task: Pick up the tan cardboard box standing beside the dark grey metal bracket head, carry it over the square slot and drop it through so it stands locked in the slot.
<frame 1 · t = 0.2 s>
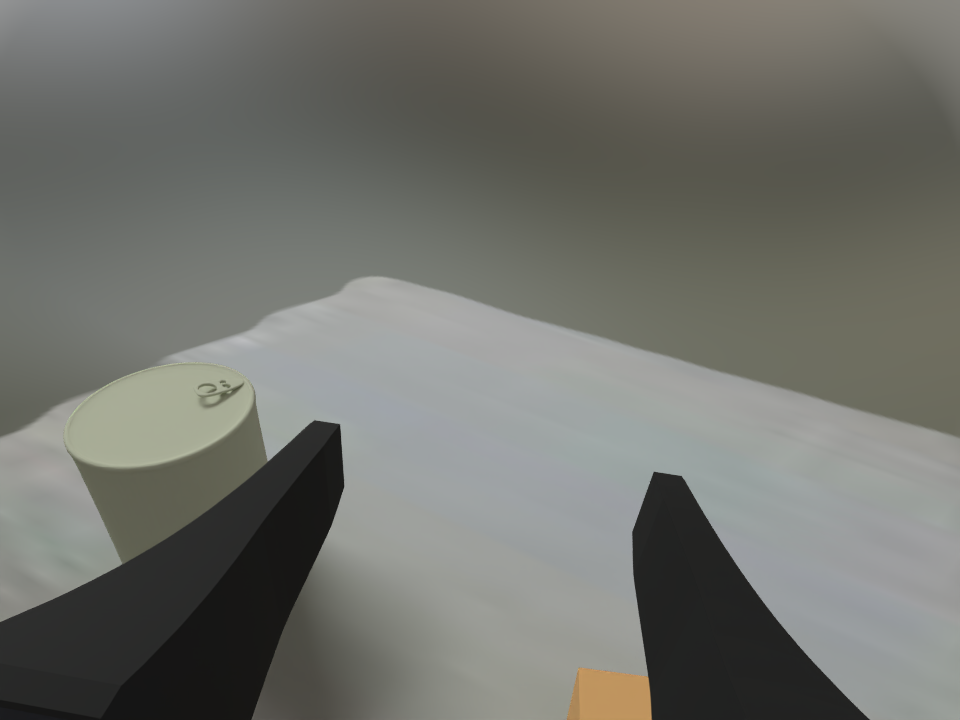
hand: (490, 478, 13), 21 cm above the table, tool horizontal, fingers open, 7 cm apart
can: (211, 554, 37), on the table
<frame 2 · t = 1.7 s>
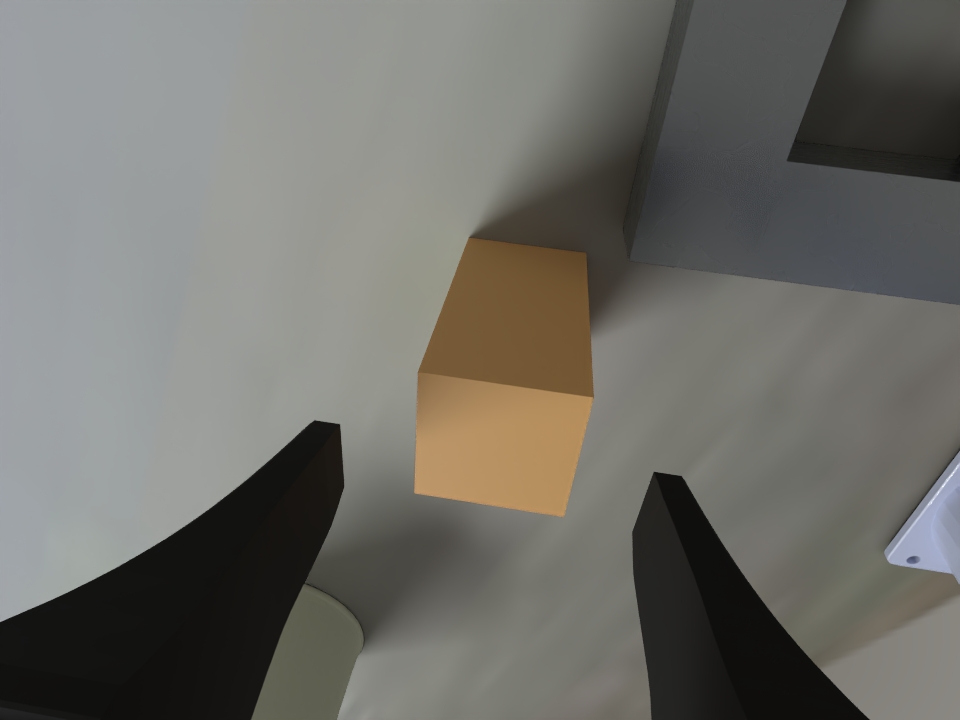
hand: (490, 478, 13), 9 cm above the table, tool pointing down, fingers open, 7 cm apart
bracket head: (905, 40, 15), on the table
tan cardboard box: (519, 297, 21), on the table
can: (291, 620, 35), on the table
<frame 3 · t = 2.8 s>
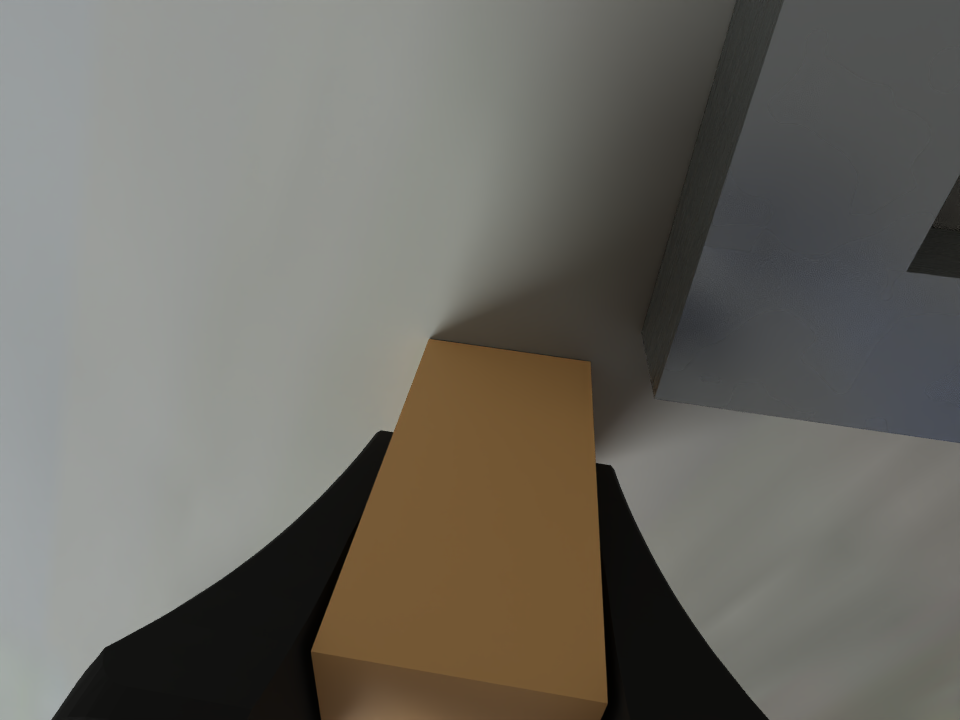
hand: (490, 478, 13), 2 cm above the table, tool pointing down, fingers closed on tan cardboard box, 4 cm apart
tan cardboard box: (500, 412, 15), on the table, touching gripper
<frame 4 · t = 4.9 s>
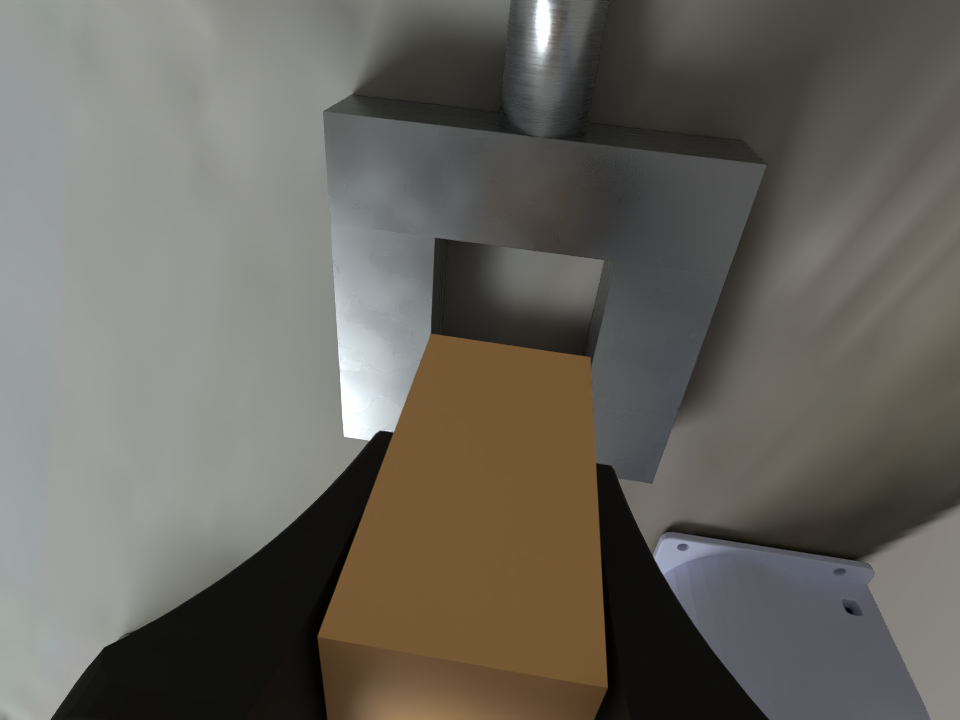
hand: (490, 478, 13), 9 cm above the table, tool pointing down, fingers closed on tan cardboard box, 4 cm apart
bracket head: (519, 292, 21), on the table
tan cardboard box: (500, 407, 16), point 7 cm above the table, touching gripper
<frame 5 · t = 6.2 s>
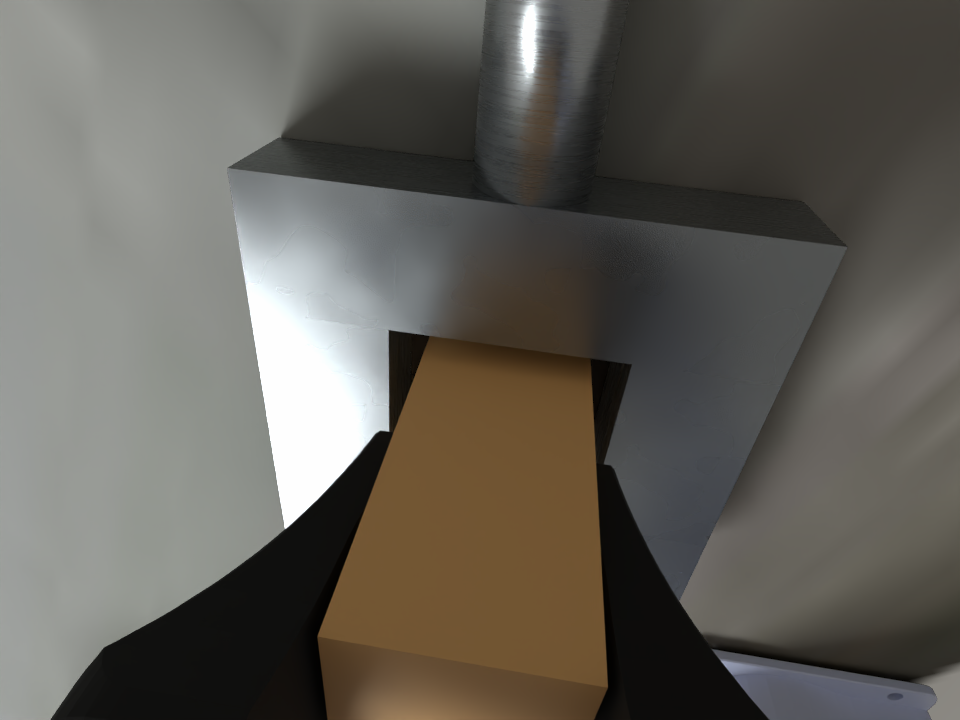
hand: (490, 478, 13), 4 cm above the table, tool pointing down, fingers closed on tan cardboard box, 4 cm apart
bracket head: (505, 379, 17), on the table
tan cardboard box: (500, 407, 16), point 1 cm above the table, touching gripper
when the fingers open (4 cm above the table, at t = 7.2 s): tan cardboard box drops 1 cm, resting in bracket head.
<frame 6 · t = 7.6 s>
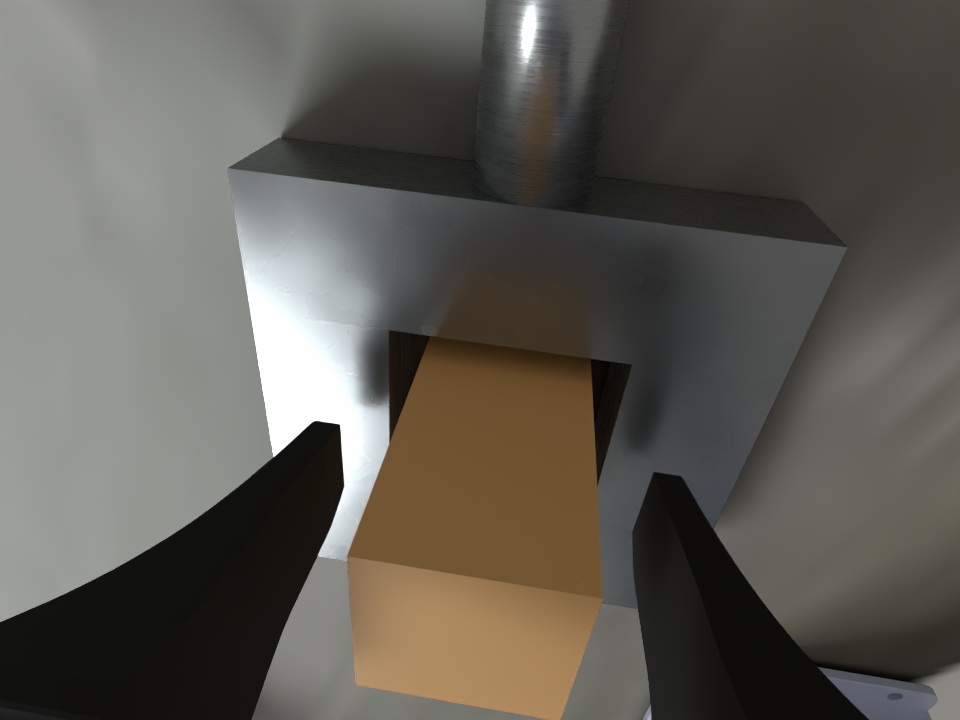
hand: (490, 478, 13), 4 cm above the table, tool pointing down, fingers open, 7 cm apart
bracket head: (505, 380, 17), on the table
tan cardboard box: (506, 378, 17), resting in bracket head
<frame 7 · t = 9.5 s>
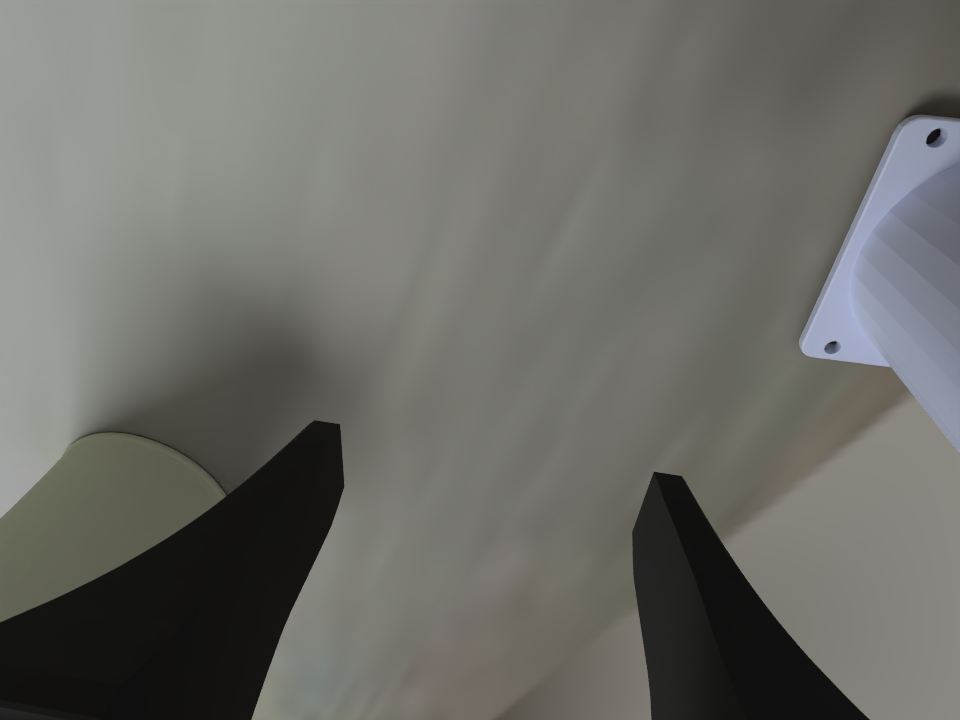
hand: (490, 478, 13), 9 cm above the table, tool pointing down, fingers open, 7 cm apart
can: (152, 494, 31), on the table
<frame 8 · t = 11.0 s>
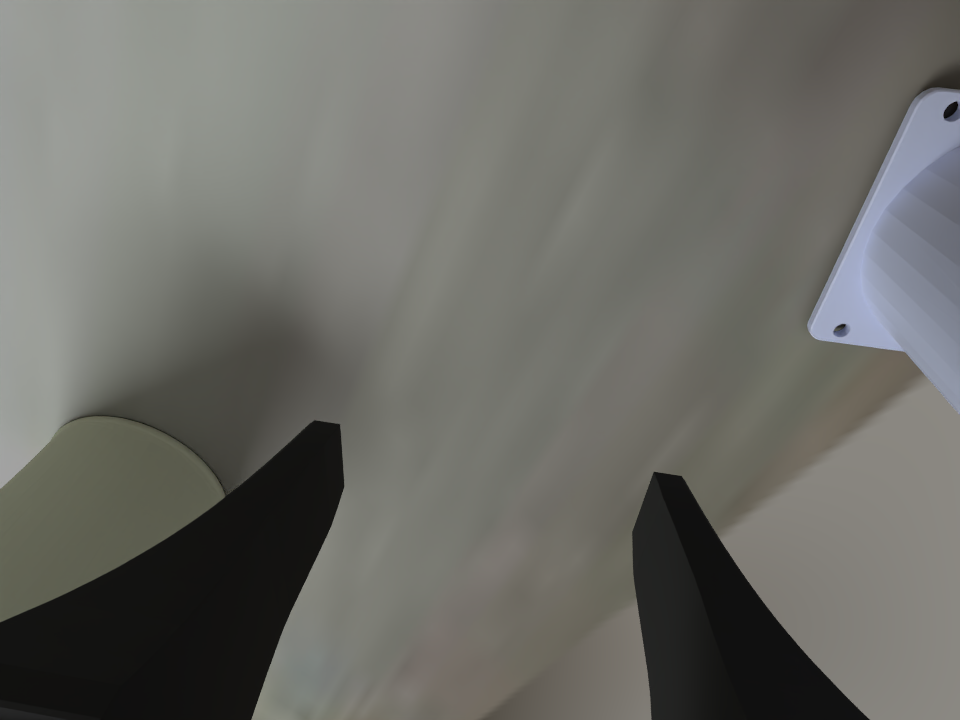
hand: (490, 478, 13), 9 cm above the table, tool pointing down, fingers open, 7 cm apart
can: (143, 481, 30), on the table
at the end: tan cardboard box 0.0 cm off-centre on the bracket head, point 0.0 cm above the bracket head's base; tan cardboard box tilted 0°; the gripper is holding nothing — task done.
